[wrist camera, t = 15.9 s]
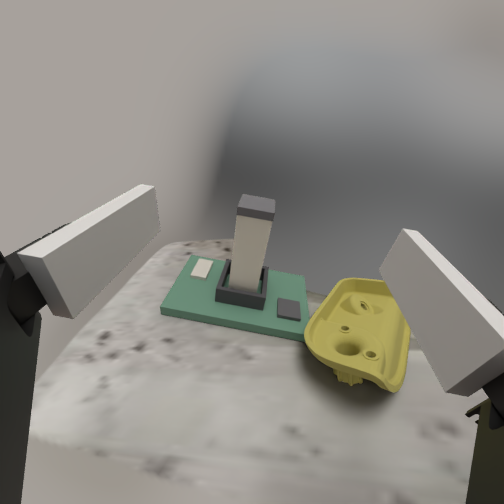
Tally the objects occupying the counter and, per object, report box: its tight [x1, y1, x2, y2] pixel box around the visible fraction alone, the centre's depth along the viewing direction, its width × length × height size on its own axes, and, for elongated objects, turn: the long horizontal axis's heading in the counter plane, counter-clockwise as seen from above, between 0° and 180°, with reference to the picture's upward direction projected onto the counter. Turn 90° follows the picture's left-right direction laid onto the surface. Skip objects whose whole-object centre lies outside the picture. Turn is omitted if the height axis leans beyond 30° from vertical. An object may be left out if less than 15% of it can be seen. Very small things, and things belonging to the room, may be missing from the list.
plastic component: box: [304, 278, 410, 392], centre depth 30 cm, size 20×7×10 cm
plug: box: [228, 194, 275, 293], centre depth 30 cm, size 4×4×14 cm
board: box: [160, 255, 310, 342], centre depth 33 cm, size 20×12×4 cm, turn 83°
